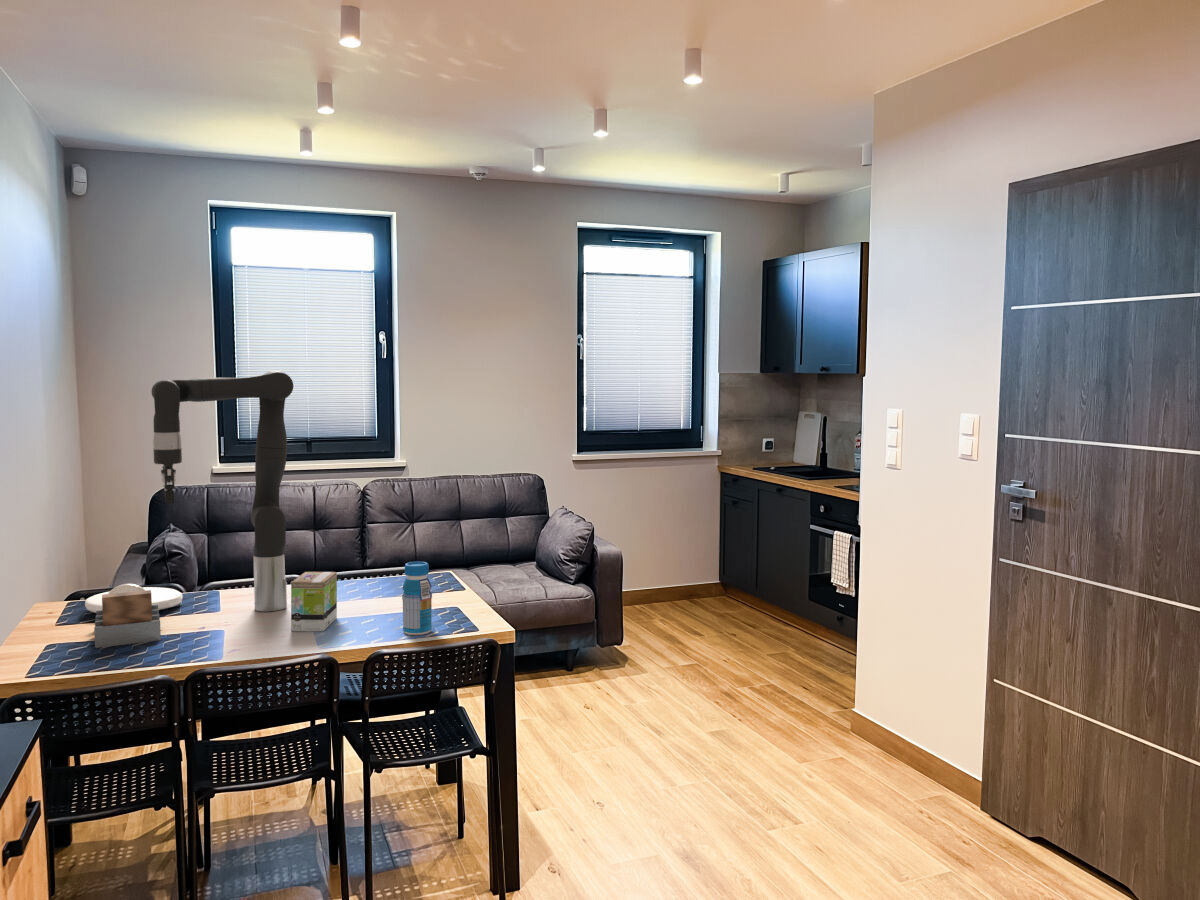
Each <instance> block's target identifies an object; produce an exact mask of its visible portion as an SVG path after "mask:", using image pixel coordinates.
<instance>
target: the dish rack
mask: <svg viewBox="0 0 1200 900" xmlns="http://www.w3.org/2000/svg"><path fill="white" fill-rule="evenodd" d="M136 591H146V590H145V589H144V588H142V586H141V585H138V584H136V583H122V584H120V585H117V586H115V587H113V588H112V589H111V590H109V591H108V592H109V593H108V594H115V593H126V592H136ZM159 612H160V610H159V609H158V605H152V621H145V622H135V623H126V624H117V625H108V626H103V611H102V610H98V611H96V613H95V614H96V615H95V621H94V628H93V631H94V633H93V634H94V649H97V648H98V649H99V648H107V647H112V646H113V647H115V646H124V645H132V644H140V643H147V642H148V643H149V642H156V641H157V642H158V641H161V640H162V637H161V636H162V633H161V620H160V619H161V618H160V613H159Z"/></svg>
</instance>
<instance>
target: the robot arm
mask: <svg viewBox="0 0 1200 900" xmlns="http://www.w3.org/2000/svg"><path fill="white" fill-rule="evenodd" d="M293 389H294V382H293V379H292V378H291V377H290V375H289V374H288V373H285V372H283V371H279V370H271V371H266V372H265V373H264V374H261V375H255V376H249V377H200V378H192V379H162V380H159V381H156V383H154V384H153V385H152V387H151V396H152V398H153V401H154V404H153V405H154V414H153V436H152V437H153V439H152V440H153V441H152V447H153V448H152V449H153V463H154V464H156V465H162V466H161V467H162V468H161V469H160V476H161V482H162V487H163V489H164V491H163V492H164V494H163V495H164V500H165V504H167V505H168V504H174V503H175V493H174V491H175V488H176V486H175V484H176V483H177V482H176V480H177V479H176V476H177V470H176V468H174V467H173V466H174V465H178V464H181V463H182V462H183V458H182V457H183V456H182V455H183V453H182V449H183V448H182V436H181V426H180V424H181V421H180V406H181V403H185V402H193V403H194V402H195V403H198V402H199V403H201V402H216V401H225V400H227V401H228V400H234V399H235V400H236V399H249V398H253V399H259V402H258V404H259V418H258V425H257V433H256V442H255V443H256V444H255V446H256V447H255V457H254V458H255V460H254V461H255V462H254V463H255V465H254V469H255V470H254V474H255V476H254V477H255V481H254V482H255V490H254V496H253V497H254V498H253V503H252V504H253V505H252V507H251V515H250V519H251V520H250V522H251V524H252V526H253V527H254V544H253V545H254V546H253V550H252V552H253V553H252V554H253V558H252V559H253V587H254V588H253V591H254V593H253V594H254V610H255V611H257V612H276V611H279V610H284V609H287V608H288V602H287V599H288V598H287V597H288V595H287V578H286V568H285V565H286V563H285V559H286V558H285V548H286V541H287V537H286V535H287V533H286V532H287V531H286V527H287V526H286V524H287V523H286V516H285V513H284V512H283V510H282V509H281V508H280V507H281V506H280V488H281V483H282V479H283V477H284V473H285V468H286V464H287V452H288V451H287V450H288V437H287V431H286V425H285V417H284V416H285V413H284V412H285V405H286V399H287V398H288V397H290V395H291V394H292V393H293Z"/></svg>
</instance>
